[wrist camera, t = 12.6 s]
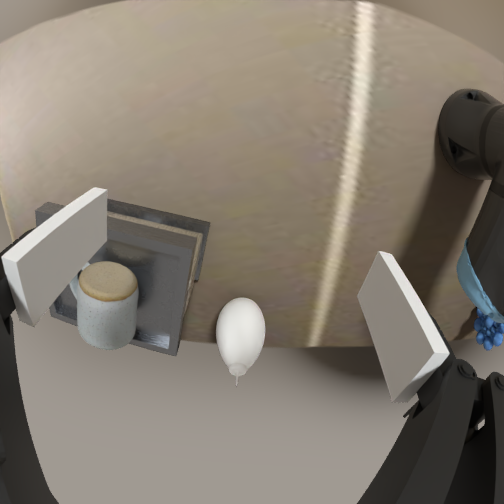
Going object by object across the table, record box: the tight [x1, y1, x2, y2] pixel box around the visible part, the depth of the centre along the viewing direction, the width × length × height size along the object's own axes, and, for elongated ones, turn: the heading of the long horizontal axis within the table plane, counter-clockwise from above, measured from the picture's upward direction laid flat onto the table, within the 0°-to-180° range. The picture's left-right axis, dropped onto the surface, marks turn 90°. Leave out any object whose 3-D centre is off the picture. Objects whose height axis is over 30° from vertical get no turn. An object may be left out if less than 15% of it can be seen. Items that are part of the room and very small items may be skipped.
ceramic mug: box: [69, 261, 139, 350], centre depth 31 cm, size 11×8×8 cm
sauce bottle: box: [216, 298, 265, 387], centre depth 45 cm, size 8×8×18 cm
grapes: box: [474, 308, 504, 350], centre depth 48 cm, size 12×7×12 cm, turn 165°
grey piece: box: [35, 199, 210, 356], centre depth 40 cm, size 21×17×15 cm
